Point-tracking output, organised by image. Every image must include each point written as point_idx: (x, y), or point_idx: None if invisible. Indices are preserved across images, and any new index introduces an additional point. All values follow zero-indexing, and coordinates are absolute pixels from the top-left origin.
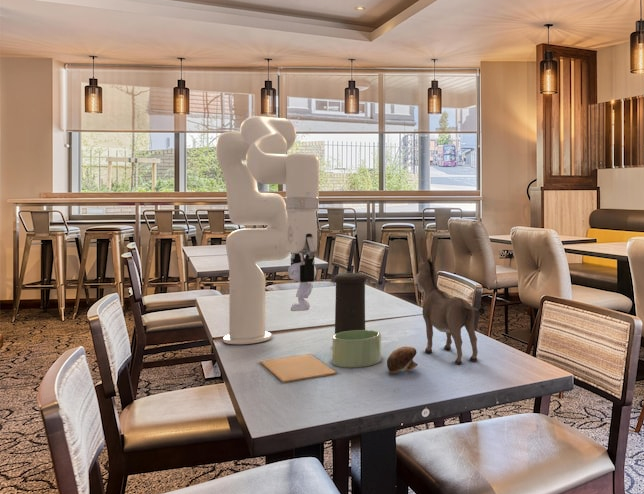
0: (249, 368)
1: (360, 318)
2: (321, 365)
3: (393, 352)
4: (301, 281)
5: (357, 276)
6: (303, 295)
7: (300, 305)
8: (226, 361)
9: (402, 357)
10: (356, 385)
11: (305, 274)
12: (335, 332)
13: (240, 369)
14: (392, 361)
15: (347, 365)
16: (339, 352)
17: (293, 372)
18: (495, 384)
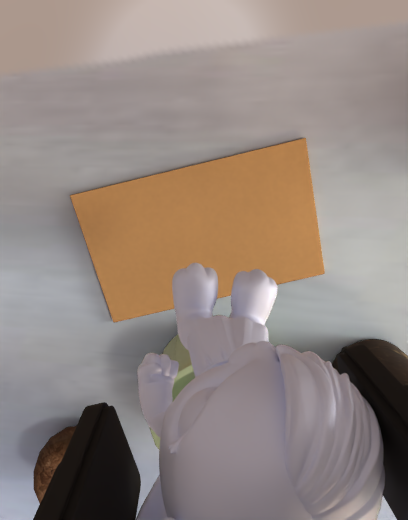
0: (255, 104)
1: None
2: None
3: None
4: (88, 411)
5: None
6: (145, 358)
7: (184, 315)
8: (374, 28)
9: (34, 477)
10: (5, 350)
11: (47, 490)
12: (390, 365)
13: (254, 77)
14: (48, 450)
15: (163, 351)
16: (178, 351)
17: (145, 223)
18: None
